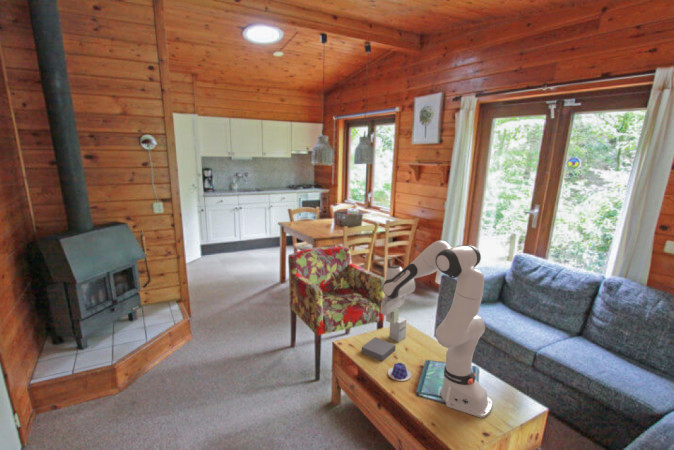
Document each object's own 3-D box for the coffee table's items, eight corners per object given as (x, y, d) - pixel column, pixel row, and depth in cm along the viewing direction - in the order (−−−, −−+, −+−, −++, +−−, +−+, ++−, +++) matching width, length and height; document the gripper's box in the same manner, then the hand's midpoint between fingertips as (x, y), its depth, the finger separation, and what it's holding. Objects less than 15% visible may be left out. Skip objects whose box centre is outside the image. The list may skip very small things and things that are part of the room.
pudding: (416, 378, 175) (416, 369, 174) (395, 384, 171) (396, 375, 170) (403, 365, 186) (403, 356, 185) (383, 370, 182) (383, 361, 181)
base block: (395, 351, 200) (395, 344, 199) (382, 362, 190) (382, 355, 189) (375, 343, 209) (375, 337, 208) (361, 353, 198) (361, 346, 198)
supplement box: (398, 342, 208) (399, 323, 206) (389, 337, 214) (389, 319, 211) (406, 338, 213) (406, 319, 211) (396, 333, 219) (397, 315, 216)
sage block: (398, 320, 195) (398, 309, 194) (393, 323, 191) (394, 312, 190) (390, 317, 198) (391, 306, 197) (386, 321, 195) (386, 309, 193)
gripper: (388, 301, 182) (387, 325, 185) (407, 289, 197) (406, 311, 200) (378, 298, 186) (377, 321, 189) (397, 286, 201) (396, 308, 204)
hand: (392, 316), depth 194 cm, fingers closed on sage block, 5 cm apart
